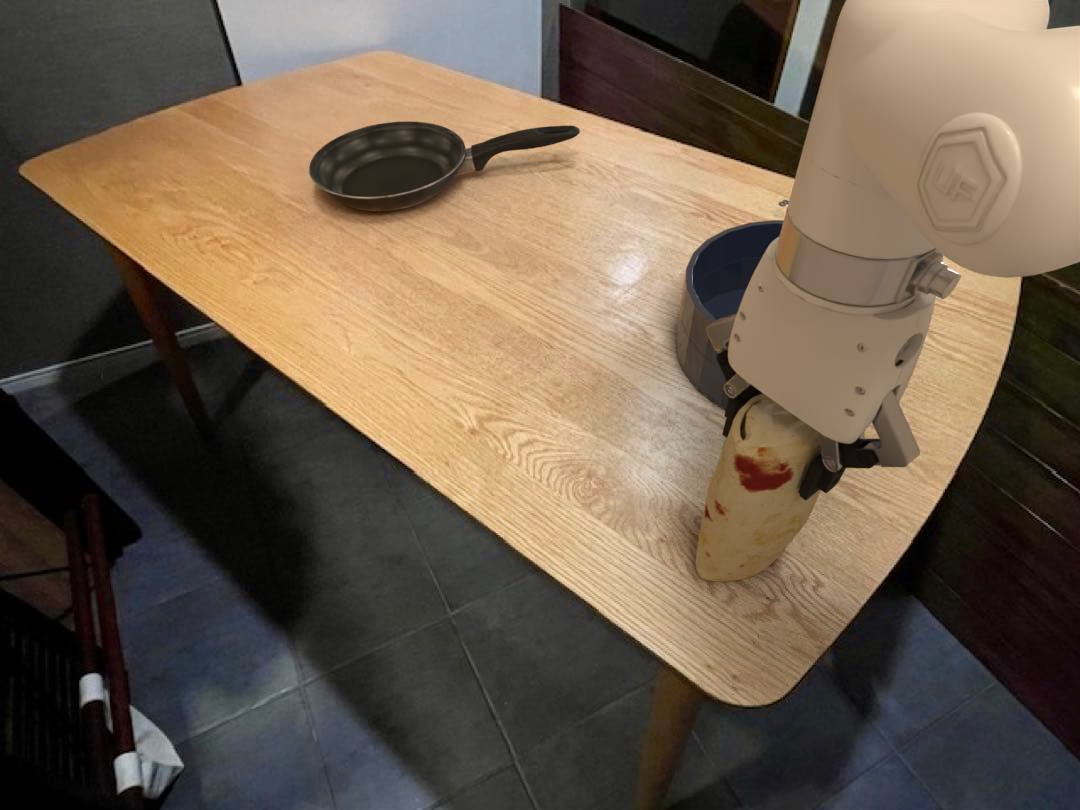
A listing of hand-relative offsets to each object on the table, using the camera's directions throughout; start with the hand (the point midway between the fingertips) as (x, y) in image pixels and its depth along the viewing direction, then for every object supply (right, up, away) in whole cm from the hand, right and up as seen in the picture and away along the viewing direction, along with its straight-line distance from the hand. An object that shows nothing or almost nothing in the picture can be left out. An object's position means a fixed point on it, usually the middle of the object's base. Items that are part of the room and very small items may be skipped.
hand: (775, 455), depth 47 cm
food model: (+1, -10, +11) cm, 15 cm away
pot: (+11, +10, +29) cm, 32 cm away
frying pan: (-35, +41, +60) cm, 81 cm away
